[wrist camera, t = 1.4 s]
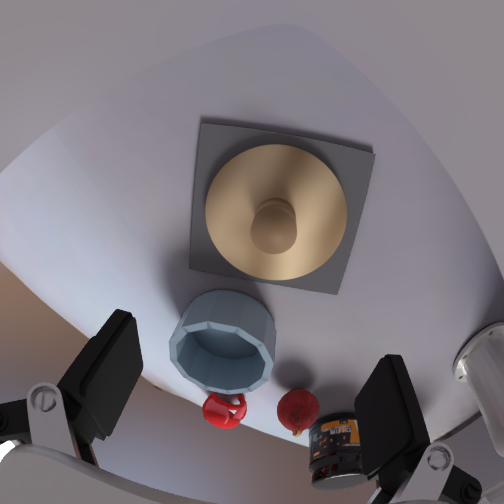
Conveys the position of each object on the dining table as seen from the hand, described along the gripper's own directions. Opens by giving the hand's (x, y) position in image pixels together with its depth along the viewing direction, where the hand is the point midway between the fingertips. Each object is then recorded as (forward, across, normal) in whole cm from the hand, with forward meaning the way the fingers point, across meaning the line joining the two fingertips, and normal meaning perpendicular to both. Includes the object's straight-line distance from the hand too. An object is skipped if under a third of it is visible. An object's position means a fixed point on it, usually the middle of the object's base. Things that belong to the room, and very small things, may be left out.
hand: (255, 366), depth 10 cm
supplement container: (+19, -18, +35) cm, 44 cm away
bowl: (+19, +3, +15) cm, 24 cm away
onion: (+19, -8, +25) cm, 32 cm away
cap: (+19, +2, +30) cm, 36 cm away
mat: (+19, 0, 0) cm, 19 cm away
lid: (+18, 0, 0) cm, 18 cm away
